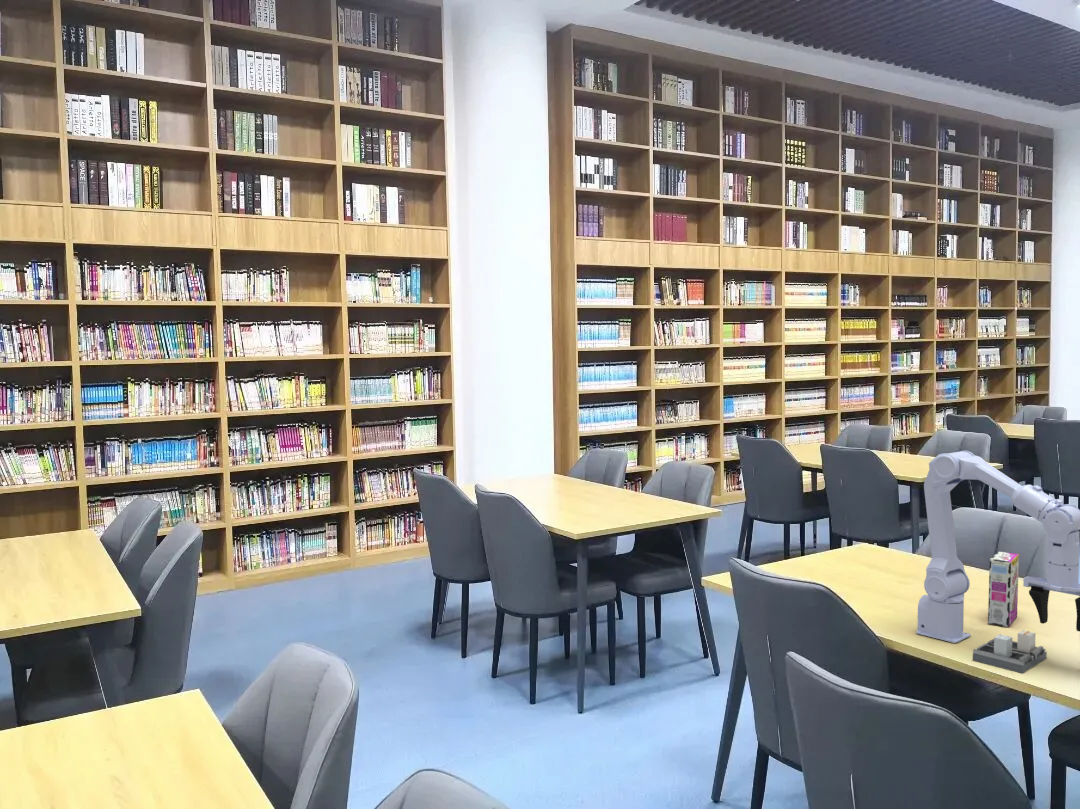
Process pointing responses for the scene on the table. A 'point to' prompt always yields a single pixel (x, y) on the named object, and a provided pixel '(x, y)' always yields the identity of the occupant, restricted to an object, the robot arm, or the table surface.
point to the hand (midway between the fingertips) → (1061, 626)
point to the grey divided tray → (1016, 662)
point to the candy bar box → (1003, 589)
